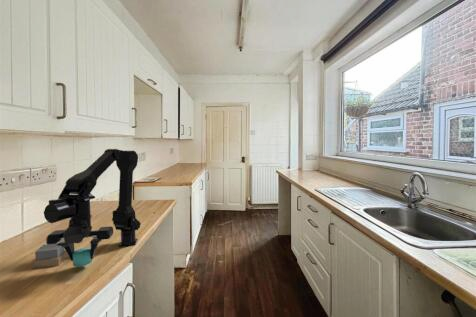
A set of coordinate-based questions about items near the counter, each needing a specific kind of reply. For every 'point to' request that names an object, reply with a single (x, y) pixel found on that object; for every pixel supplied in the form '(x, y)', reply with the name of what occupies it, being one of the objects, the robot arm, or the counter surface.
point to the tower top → (48, 251)
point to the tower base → (50, 261)
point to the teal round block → (82, 257)
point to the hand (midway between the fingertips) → (82, 259)
